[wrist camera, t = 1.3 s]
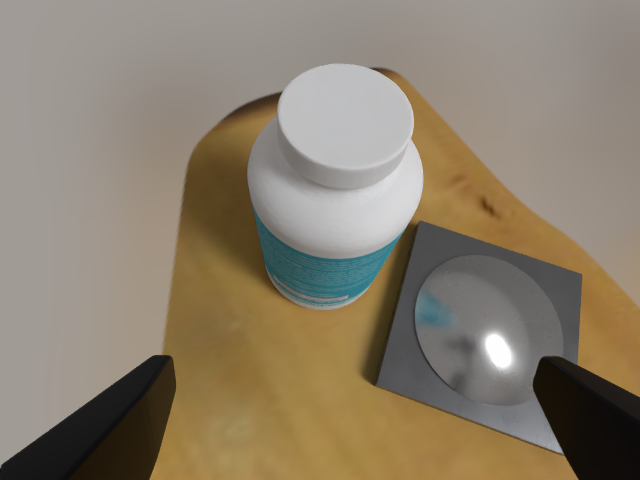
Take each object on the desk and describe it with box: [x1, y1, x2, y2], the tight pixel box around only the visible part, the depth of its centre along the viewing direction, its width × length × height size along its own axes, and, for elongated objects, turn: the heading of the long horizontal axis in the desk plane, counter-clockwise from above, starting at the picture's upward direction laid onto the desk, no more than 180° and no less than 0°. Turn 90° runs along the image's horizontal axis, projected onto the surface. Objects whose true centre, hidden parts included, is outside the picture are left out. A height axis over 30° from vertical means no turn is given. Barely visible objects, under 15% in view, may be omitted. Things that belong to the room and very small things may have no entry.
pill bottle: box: [247, 64, 423, 310], centre depth 19 cm, size 8×7×14 cm
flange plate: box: [373, 221, 582, 456], centre depth 23 cm, size 11×11×1 cm
